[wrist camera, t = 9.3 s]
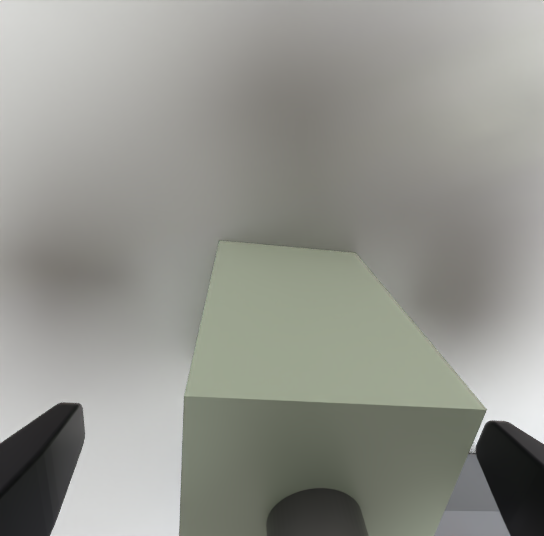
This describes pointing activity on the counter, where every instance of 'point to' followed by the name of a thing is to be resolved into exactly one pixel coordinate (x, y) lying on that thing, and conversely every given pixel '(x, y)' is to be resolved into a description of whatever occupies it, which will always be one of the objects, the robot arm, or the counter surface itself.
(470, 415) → the plug
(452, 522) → the socket
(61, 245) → the counter surface
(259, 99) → the counter surface
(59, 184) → the counter surface
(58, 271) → the counter surface
